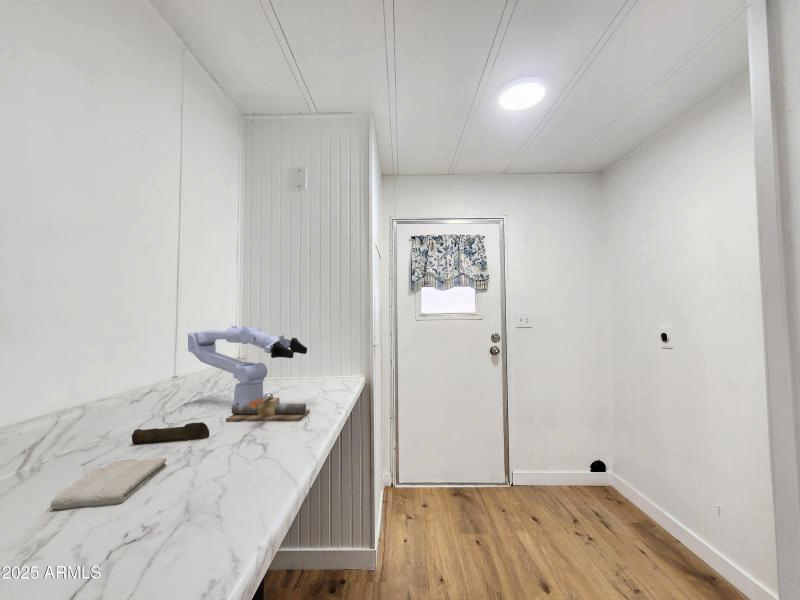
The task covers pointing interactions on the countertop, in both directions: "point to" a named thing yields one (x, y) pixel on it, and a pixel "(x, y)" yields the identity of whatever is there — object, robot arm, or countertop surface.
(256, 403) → the valve lever
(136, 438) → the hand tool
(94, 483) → the washcloth
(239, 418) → the valve board
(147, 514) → the countertop surface
